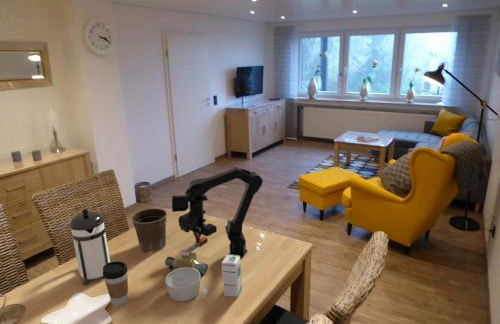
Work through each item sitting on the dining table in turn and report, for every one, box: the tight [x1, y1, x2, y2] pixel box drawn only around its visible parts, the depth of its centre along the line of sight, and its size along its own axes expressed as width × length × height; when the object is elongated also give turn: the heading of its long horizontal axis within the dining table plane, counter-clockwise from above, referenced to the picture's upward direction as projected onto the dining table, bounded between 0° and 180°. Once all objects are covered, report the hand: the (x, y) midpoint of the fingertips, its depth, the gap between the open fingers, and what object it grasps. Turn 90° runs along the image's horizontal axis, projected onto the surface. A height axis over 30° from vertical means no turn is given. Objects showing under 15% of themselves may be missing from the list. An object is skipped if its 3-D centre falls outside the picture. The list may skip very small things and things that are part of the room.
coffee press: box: [68, 208, 111, 286], centre depth 143 cm, size 17×16×30 cm
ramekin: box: [164, 268, 202, 302], centre depth 133 cm, size 13×13×7 cm
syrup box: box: [221, 254, 243, 298], centre depth 132 cm, size 6×6×14 cm
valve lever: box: [180, 236, 208, 257], centre depth 151 cm, size 15×3×2 cm, turn 148°
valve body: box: [164, 251, 209, 277], centre depth 147 cm, size 18×6×7 cm, turn 70°
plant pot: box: [130, 207, 168, 253], centre depth 166 cm, size 16×16×16 cm
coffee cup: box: [102, 260, 129, 307], centre depth 128 cm, size 8×8×15 cm
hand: (197, 241), depth 155 cm, fingers closed
